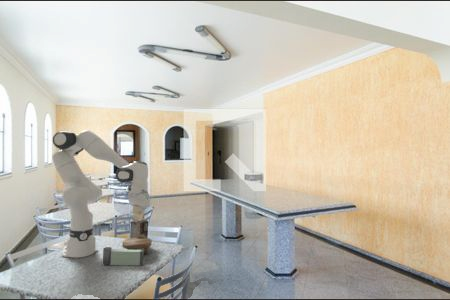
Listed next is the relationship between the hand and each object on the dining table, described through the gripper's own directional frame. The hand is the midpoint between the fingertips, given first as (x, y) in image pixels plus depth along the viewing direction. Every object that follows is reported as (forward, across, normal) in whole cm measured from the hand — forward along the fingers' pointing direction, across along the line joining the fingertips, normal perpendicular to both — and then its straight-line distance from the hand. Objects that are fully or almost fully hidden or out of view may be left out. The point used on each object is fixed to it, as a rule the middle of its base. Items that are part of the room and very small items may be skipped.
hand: (138, 213), depth 161 cm
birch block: (+4, 0, 0) cm, 4 cm away
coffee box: (+24, +13, -8) cm, 29 cm away
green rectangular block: (+24, -8, +12) cm, 28 cm away
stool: (+24, 0, 0) cm, 24 cm away
